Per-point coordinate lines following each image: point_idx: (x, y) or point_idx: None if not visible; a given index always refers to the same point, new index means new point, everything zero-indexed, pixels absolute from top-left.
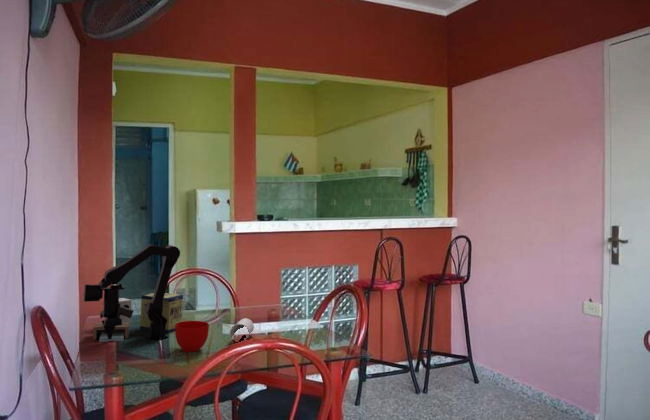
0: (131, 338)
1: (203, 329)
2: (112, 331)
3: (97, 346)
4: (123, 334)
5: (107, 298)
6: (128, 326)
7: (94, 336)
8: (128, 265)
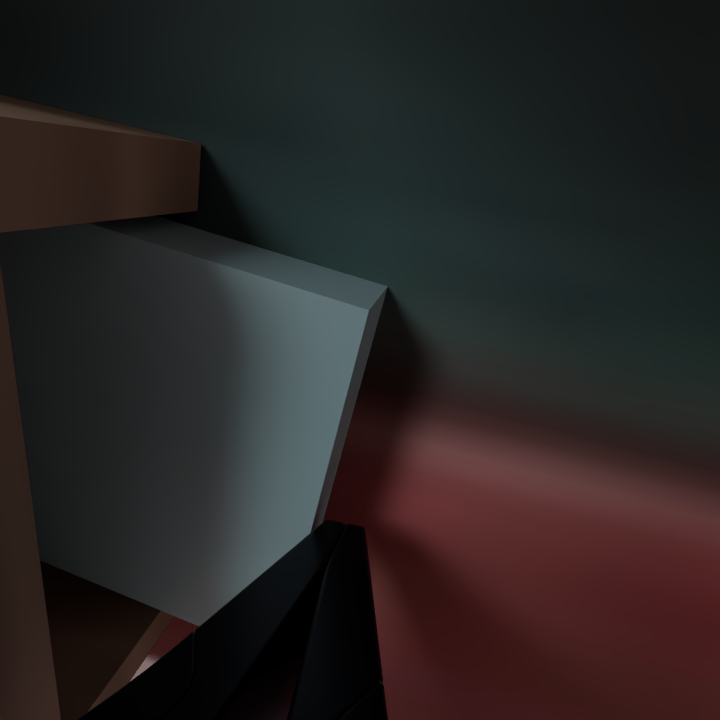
0: (209, 52)
1: None
2: (380, 703)
3: (552, 695)
4: (121, 247)
5: None
6: None
7: (147, 646)
8: None
